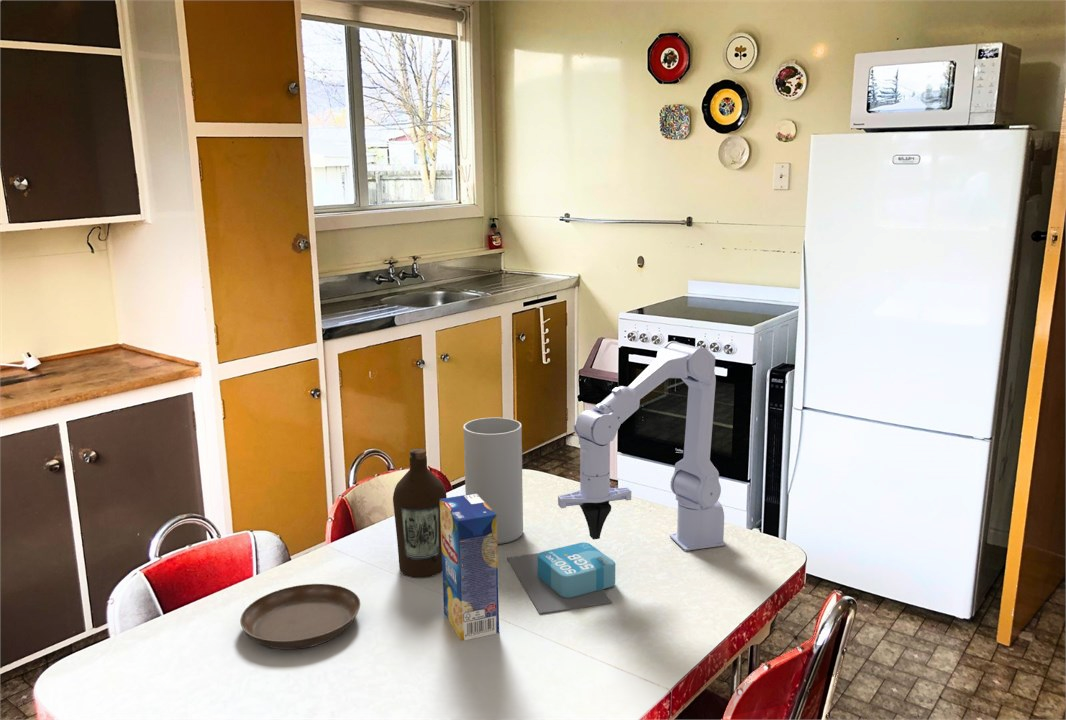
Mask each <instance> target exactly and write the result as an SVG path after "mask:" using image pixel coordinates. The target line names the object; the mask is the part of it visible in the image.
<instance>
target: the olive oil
mask: <svg viewBox="0 0 1066 720" xmlns="http://www.w3.org/2000/svg"><path fill="white" fill-rule="evenodd" d="M409 455H410V456H409V457H408V458H409V470H408V471H407V472H406V473H405V474H404V475H403V477H402V478H400V480H399V481H398V482H397V484H396V485H395V487H394V491H393V493H392V495H393V496H392V504H393V513H394V521H395V522H394V523H395V531H396V532H395V534H396V543H397V544H396V545H397V553H398V566H399V571H400V573H401V574H402V575H404V576H406V577H409V578H415V579H425V578H430V577H431V578H432V577H434V576H437V575H439V574H440V573H442V549H441V522H440V499H443V498H448V497H447V492H446V488H445V486H444V484H443V482H442V480H441V479H440V478H439V477H437V475H435V473H433V472H432V471H431V470H430V469H429V468H428V459H427V450H426V449H424V448H413V449H411V450H409Z"/></svg>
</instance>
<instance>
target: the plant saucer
mask: <svg viewBox="0 0 1066 720" xmlns="http://www.w3.org/2000/svg"><path fill="white" fill-rule="evenodd" d="M360 608H361V600H360V597H359V595H357V594H356V593H355V592H353V590H352V589H349V588H347V587H343V586H340V585H336V584H328V583H309V584H306V583H305V584H298V585H293V586H289V587H285V588H281V589H278V590H275V591H271V592H270V593H267V594H266V595H265V594H264V595H263V596H262V597H259V598H258V599H257V598H256V599H255V600H254V601H253V602H252V603H250V604H249V605H248V606H247V607H246V608H245V609H244V611H243V612H242V614H241V615H240V621H239V622H240V626H241V629H242V630H243V631H244V632H245V634H247V636H249V637H250V638H251V639H252V640H254V641H255V642H257V643H258V644H260V645H263V646H265V647H269V648H273V649H279V650H298V649H299V650H300V649H305V648H310V647H315V646H318V645H320V644H324V643H325V642H328V641H330V640H333V639H334V638H336V637H338V636H339V635H340V634H342V633H343V632H344V631H345V630H346V629H347V628H348V627H349V626H350V625H351V624H352V623H353V622H354V620H355V618H356V616H357V615H358V614H359V610H360Z"/></svg>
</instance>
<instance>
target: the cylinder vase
mask: <svg viewBox="0 0 1066 720" xmlns="http://www.w3.org/2000/svg"><path fill="white" fill-rule="evenodd" d="M522 427H523V426H522V423H521V422H520V421H518V420H516V419H512V418H507V417H483V418H477V419H472V420H469V421H467V422H465V424H463V452H464V453H463V455H464V457H463V458H464V484H465V486H464V487H465V488H464V489H465V490H464V491H465V495H468V494H475V493H476V494H477V495H478V496H479V497H480V498H481V499H482V500H483V501H484V502H485V503H486V504H487V505H488V506H489V507H490V508H491V509H492V510H493V511H494V513H495V514H496V515H497V545H501V544H502V545H503V544H506V543H511V542H513V541H516V540H517V539H519V538H520V537H522V534H523V532H524V507H523V506H524V503H523V498H524V497H523V495H524V494H523V491H524V490H523V447H522V446H523V443H522V442H523V440H522V439H523V437H522V436H523V435H522V431H523V428H522Z"/></svg>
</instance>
